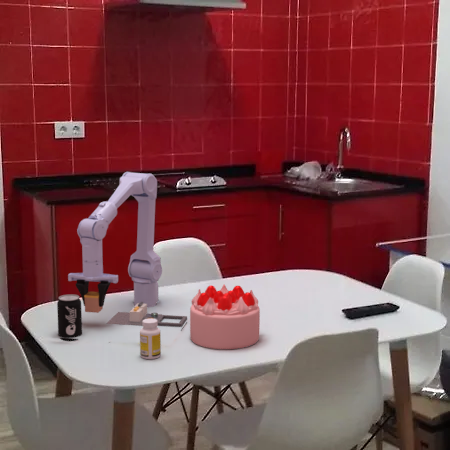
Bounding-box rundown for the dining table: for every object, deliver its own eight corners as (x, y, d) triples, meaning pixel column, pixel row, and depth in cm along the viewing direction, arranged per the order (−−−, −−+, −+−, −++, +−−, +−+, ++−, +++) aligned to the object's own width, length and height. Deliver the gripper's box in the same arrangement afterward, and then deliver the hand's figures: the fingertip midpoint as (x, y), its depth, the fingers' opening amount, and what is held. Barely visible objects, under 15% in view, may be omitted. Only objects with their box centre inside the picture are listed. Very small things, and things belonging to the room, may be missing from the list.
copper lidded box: (89, 307, 225) (89, 291, 224) (103, 308, 224) (102, 292, 223) (84, 312, 221) (84, 295, 220) (98, 312, 220) (98, 296, 219)
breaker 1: (137, 312, 236) (137, 301, 235) (147, 313, 235) (147, 301, 235) (134, 316, 232) (134, 304, 231) (143, 316, 231) (143, 305, 231)
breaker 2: (133, 317, 231) (133, 305, 230) (143, 317, 230) (142, 306, 230) (129, 321, 227) (129, 309, 226) (139, 321, 226) (139, 310, 226)
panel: (118, 315, 236) (118, 310, 236) (162, 318, 234) (162, 312, 234) (106, 327, 225) (106, 321, 224) (152, 330, 223) (152, 324, 222)
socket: (161, 321, 231) (161, 314, 231) (187, 322, 230) (187, 316, 230) (154, 329, 223) (154, 322, 223) (181, 330, 222) (181, 324, 222)
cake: (189, 350, 206) (189, 299, 204) (191, 327, 226) (191, 280, 223) (261, 350, 207) (262, 299, 204) (257, 327, 226) (257, 281, 224)
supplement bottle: (161, 352, 204) (160, 317, 202) (160, 359, 199) (159, 323, 197) (140, 352, 204) (140, 317, 202) (139, 359, 199) (138, 323, 197)
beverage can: (59, 342, 211) (57, 301, 209) (57, 335, 217) (56, 294, 215) (83, 340, 213) (82, 299, 211) (81, 333, 219) (79, 293, 217)
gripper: (63, 262, 217) (65, 308, 219) (112, 264, 214) (113, 310, 217) (72, 256, 224) (73, 301, 226) (120, 258, 221) (120, 303, 224)
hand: (93, 305), depth 222 cm, fingers closed on copper lidded box, 4 cm apart
